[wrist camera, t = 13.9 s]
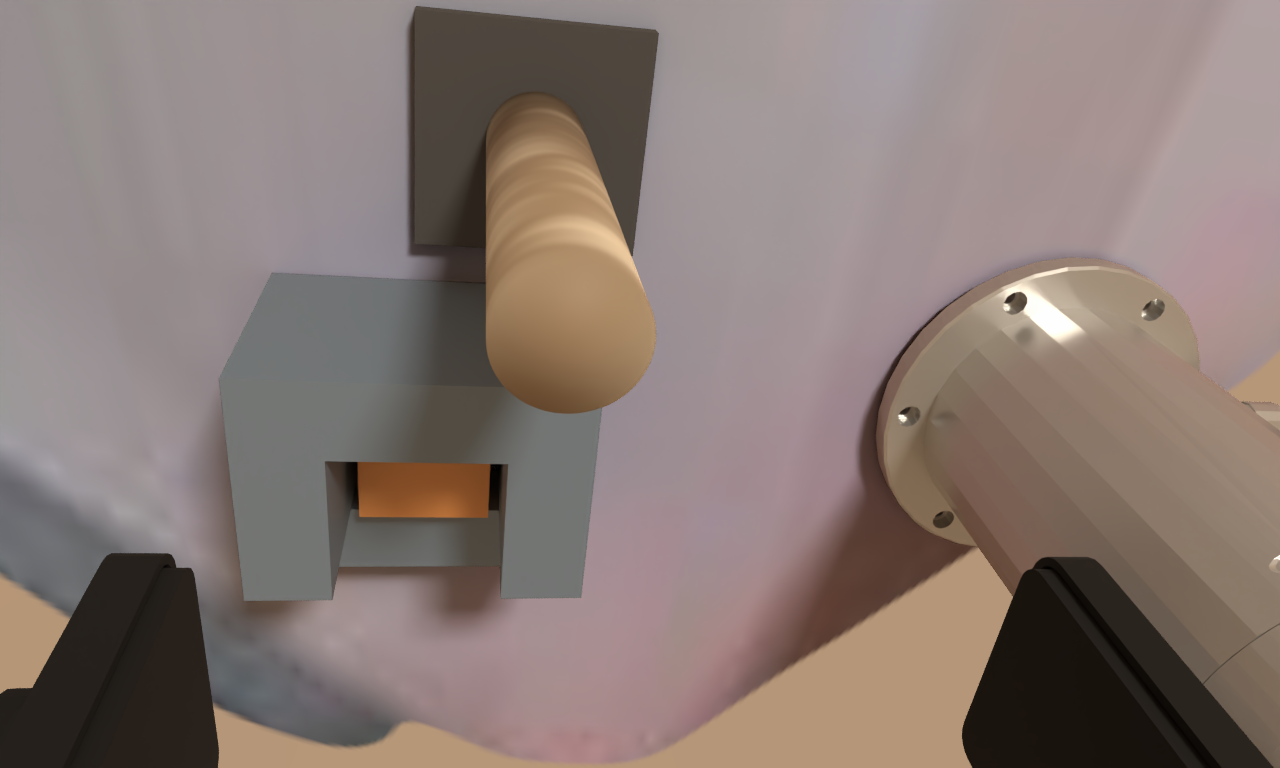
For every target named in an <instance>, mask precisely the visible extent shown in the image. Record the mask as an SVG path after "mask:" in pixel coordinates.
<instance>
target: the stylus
mask: <svg viewBox="0 0 1280 768" xmlns="http://www.w3.org/2000/svg"><path fill="white" fill-rule="evenodd" d="M655 344H656V326H655V320H654V316H653V312H652V310H651V307H650V304H649V302H648V299H647V297H646V294H645V291H644V289H643V286H642V283H641V281H640V278H639V275H638V273H637V270H636V267H635V265H634V262H633V259H632V257H631V254H630V251H629V249H628V246H627V243H626V241H625V238H624V235H623V233H622V230H621V227H620V225H619V222H618V220H617V217H616V214H615V212H614V209H613V206H612V204H611V201H610V198H609V196H608V193H607V190H606V188H605V185H604V182H603V180H602V177H601V174H600V172H599V169H598V166H597V164H596V161H595V158H594V156H593V153H592V151H591V148H590V145H589V143H588V140H587V137H586V135H585V132H584V129H583V127H582V124H581V121H580V119H579V118H578V116H577V114H576V113H575V111H574V110H573V109H572V108H571V107H570V106H569V105H568V104H567V103H566V102H564V101H563V100H562V99H560V98H558V97H556V96H554V95H552V94H548V93H544V92H525V93H521V94H518V95H515V96H513V97H511V98H509V99H508V100H506V101H505V102H504V103H502V104H501V105H500V106H499V107H498V109H497V110H496V111H495V113H494V114H493V116H492V118H491V119H490V122H489V125H488V128H487V133H486V348H487V354H488V358H489V361H490V364H491V367H492V369H493V371H494V373H495V375H496V376H497V378H498V379H499V381H500V382H501V383H502V385H503V386H504V387H505V388H506V389H507V390H508V391H509V392H510V393H511V394H513V395H514V396H515V397H516V398H518V399H519V400H521V401H523V402H524V403H526V404H528V405H530V406H532V407H534V408H537V409H540V410H543V411H548V412H553V413H561V414H577V413H584V412H589V411H593V410H597V409H599V408H602V407H605V406H607V405H609V404H611V403H613V402H615V401H617V400H618V399H620V398H621V397H622V396H624V395H625V394H626V393H628V392H629V391H630V390H631V389H632V388H633V387H634V386H635V385H636V384H637V383H638V382H639V380H640V379H641V378H642V376H643V375H644V373H645V372H646V370H647V368H648V366H649V364H650V362H651V359H652V356H653V353H654V349H655Z"/></svg>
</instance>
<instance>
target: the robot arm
mask: <svg viewBox="0 0 1280 768" xmlns="http://www.w3.org/2000/svg"><path fill="white" fill-rule="evenodd" d="M1199 370H1200V359H1199V351H1198V343H1197V338H1196V335H1195V332H1194V330H1193V327H1192V325H1191V322H1190V320H1189V317H1188V315H1187V314H1186V313H1185V311H1184V310H1183V309H1182V308H1181V306H1180V305H1179V304H1178V302H1177V301H1176V300H1175V298H1174V297H1173V296H1172V295H1170V294H1169V293H1168V292H1166V291H1165V290H1164V289H1163V288H1161V287H1160V286H1159V285H1157V284H1156V283H1155V282H1153V281H1152V280H1150V279H1148V278H1147V277H1145V276H1143V275H1141V274H1140V273H1138V272H1136V271H1134V270H1133V269H1131V268H1129V267H1127V266H1123V265H1120V264H1116V263H1113V262H1109V261H1106V260H1102V259H1091V258H1074V257H1069V258H1062V259H1054V260H1046V261H1039V262H1036V263H1032V264H1029V265H1026V266H1023V267H1019V268H1016V269H1013V270H1010V271H1007V272H1005V273H1003V274H1000V275H998V276H996V277H994V278H992V279H990V280H988V281H986V282H984V283H982V284H980V285H978V286H976V287H975V288H973V289H972V290H970V291H969V292H967V293H966V294H965V295H963V296H962V297H960V298H959V299H957V300H956V301H954V302H953V303H952V304H950V305H949V306H947V307H946V308H945V309H944V310H943V311H942V312H941V313H940V314H939V315H938V316H937V317H936V318H935V319H934V320H932V321H931V322H930V323H929V324H928V325H927V326H926V327H925V328H924V329H923V330H922V331H921V332H920V334H919V335H918V336H917V338H916V339H915V340H914V342H913V343H912V344H911V345H910V347H909V348H908V349H907V351H906V352H905V353H904V354H903V356H902V358H901V359H900V361H899V363H898V365H897V367H896V369H895V370H894V372H893V374H892V376H891V378H890V380H889V382H888V384H887V387H886V390H885V393H884V396H883V399H882V402H881V405H880V408H879V413H878V421H877V430H876V444H877V453H878V462H879V464H880V467H881V470H882V473H883V475H884V478H885V481H886V483H887V485H888V487H889V488H890V490H891V491H892V493H893V494H894V496H895V498H896V500H897V501H898V503H899V505H900V506H901V507H902V508H903V509H904V510H905V511H906V512H907V514H908V515H909V516H910V517H911V518H912V519H913V520H914V521H915V522H916V523H917V524H919V525H920V526H921V527H923V528H924V529H926V530H927V531H928V532H930V533H932V534H934V535H936V536H939V537H941V538H944V539H946V540H949V541H951V542H954V543H957V544H963V545H969V546H974V547H979V549H980V550H981V552H982V553H983V554H984V556H985V557H986V559H987V560H988V561H989V563H990V564H991V566H992V567H993V569H994V570H995V571H996V573H997V574H998V576H999V577H1000V579H1001V580H1002V581H1003V583H1004V584H1005V586H1006V587H1007V589H1008V590H1009V591H1010V593H1011V594H1012V596H1013V599H1012V601H1011V604H1010V607H1009V609H1008V612H1007V614H1006V617H1005V619H1004V622H1003V624H1002V627H1001V630H1000V632H999V635H998V637H997V640H996V642H995V645H994V647H993V650H992V653H991V655H990V658H989V660H988V663H987V665H986V668H985V670H984V673H983V675H982V678H981V681H980V683H979V686H978V688H977V691H976V693H975V696H974V699H973V701H972V704H971V706H970V709H969V711H968V714H967V716H966V719H965V721H964V725H963V729H962V739H963V746H964V749H965V753H966V755H967V758H968V760H969V762H970V763H971V766H972V768H1280V406H1279V405H1277V404H1274V403H1271V402H1240V401H1239V400H1238V399H1236V398H1235V397H1233V396H1232V395H1231V394H1229V393H1228V392H1227V391H1225V390H1224V389H1223V388H1221V387H1220V386H1219V385H1217V384H1216V383H1215V382H1213V381H1212V380H1210V379H1209V378H1208V377H1206V376H1205V375H1204V374H1202V373H1201V372H1200V371H1199ZM218 759H219V747H218V739H217V732H216V724H215V717H214V710H213V703H212V696H211V689H210V682H209V675H208V668H207V661H206V654H205V647H204V640H203V633H202V626H201V619H200V612H199V605H198V597H197V590H196V583H195V577H194V573H193V571H192V569H191V568H176V564H175V560H174V558H173V557H172V555H170V554H158V553H111V554H109V555H108V556H106V557H105V559H104V560H103V561H102V563H101V564H100V566H99V568H98V570H97V572H96V574H95V575H94V577H93V579H92V581H91V583H90V584H89V586H88V588H87V590H86V592H85V593H84V595H83V597H82V599H81V601H80V602H79V604H78V606H77V608H76V610H75V612H74V613H73V615H72V617H71V619H70V621H69V622H68V624H67V626H66V628H65V630H64V631H63V633H62V635H61V637H60V639H59V641H58V642H57V644H56V646H55V648H54V650H53V651H52V653H51V655H50V657H49V659H48V661H47V662H46V664H45V666H44V668H43V670H42V671H41V673H40V675H39V677H38V679H37V680H36V682H35V684H34V686H33V688H16V689H7V690H5V691H4V692H3V693H1V694H0V768H218Z"/></svg>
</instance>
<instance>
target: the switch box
mask: <svg viewBox="0 0 1280 768" xmlns="http://www.w3.org/2000/svg"><path fill="white" fill-rule="evenodd" d="M219 384H220V393H221V401H222V410H223V419H224V428H225V437H226V446H227V455H228V463H229V472H230V481H231V490H232V499H233V508H234V517H235V525H236V534H237V543H238V552H239V561H240V570H241V579H242V587H243V596H244V601H292V600H332V599H333V594H334V589H335V584H336V579H337V574H338V570H339V567H411V566H500V589H501V599H511V598H581V594H582V585H583V576H584V567H585V558H586V549H587V540H588V531H589V522H590V513H591V504H592V494H593V485H594V476H595V467H596V458H597V449H598V440H599V431H600V422H601V413H602V408H599V409H597V410H593V411H589V412H584V413H577V414H561V413H553V412H548V411H543V410H540V409H537V408H534V407H532V406H530V405H528V404H526V403H524V402H523V401H521V400H519V399H518V398H516V397H515V396H514V395H513V394H511V393H510V392H509V391H508V390H507V389H506V388H505V387H504V386H503V385H502V383H501V382H500V381H499V379H498V378H497V376H496V375H495V373H494V371H493V369H492V367H491V364H490V361H489V358H488V354H487V348H486V284H483V283H463V282H443V281H423V280H402V279H382V278H362V277H342V276H322V275H301V274H281V273H272V274H271V276H270V278H269V280H268V282H267V284H266V286H265V288H264V290H263V292H262V294H261V296H260V298H259V300H258V302H257V304H256V306H255V308H254V310H253V312H252V314H251V316H250V318H249V320H248V322H247V324H246V326H245V328H244V330H243V332H242V334H241V336H240V338H239V340H238V342H237V344H236V346H235V348H234V350H233V352H232V354H231V356H230V358H229V360H228V362H227V364H226V366H225V368H224V370H223V372H222V374H221V376H220V378H219ZM358 462H401V463H464V464H498V470H490V483H489V504H488V518H452V517H359V490H358Z"/></svg>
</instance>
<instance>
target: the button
mask: <svg viewBox="0 0 1280 768" xmlns="http://www.w3.org/2000/svg"><path fill="white" fill-rule="evenodd" d="M489 483H490V464H464V463H401V462H358V490H359V517H452V518H488V504H489Z"/></svg>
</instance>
